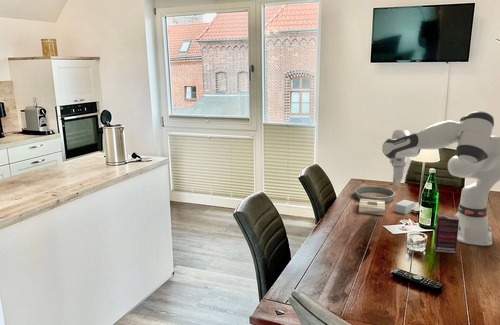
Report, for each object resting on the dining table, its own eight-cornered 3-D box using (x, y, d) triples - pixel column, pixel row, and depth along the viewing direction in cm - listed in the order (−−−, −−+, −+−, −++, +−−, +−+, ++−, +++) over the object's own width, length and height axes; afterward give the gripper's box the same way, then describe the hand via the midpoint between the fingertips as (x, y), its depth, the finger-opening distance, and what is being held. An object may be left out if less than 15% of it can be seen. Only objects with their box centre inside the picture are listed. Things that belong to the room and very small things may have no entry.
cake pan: (358, 190, 265) (358, 184, 264) (396, 195, 255) (397, 188, 254) (350, 201, 244) (350, 194, 243) (392, 206, 233) (392, 199, 232)
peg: (400, 191, 210) (401, 175, 208) (392, 190, 212) (393, 174, 210) (399, 189, 214) (401, 173, 212) (392, 188, 215) (393, 172, 213)
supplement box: (453, 248, 177) (457, 215, 174) (455, 253, 173) (459, 219, 169) (432, 246, 179) (436, 214, 176) (434, 251, 175) (438, 218, 171)
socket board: (384, 215, 219) (385, 208, 218) (358, 212, 223) (359, 206, 222) (384, 207, 232) (384, 200, 231) (359, 205, 236) (360, 198, 235)
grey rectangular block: (405, 214, 220) (406, 206, 219) (394, 212, 225) (395, 203, 223) (414, 210, 227) (414, 202, 226) (403, 207, 232) (404, 199, 231)
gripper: (391, 155, 220) (390, 179, 223) (392, 163, 201) (390, 189, 204) (403, 156, 218) (401, 180, 221) (406, 164, 199) (403, 190, 202)
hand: (396, 184), depth 212 cm, fingers closed on peg, 4 cm apart
